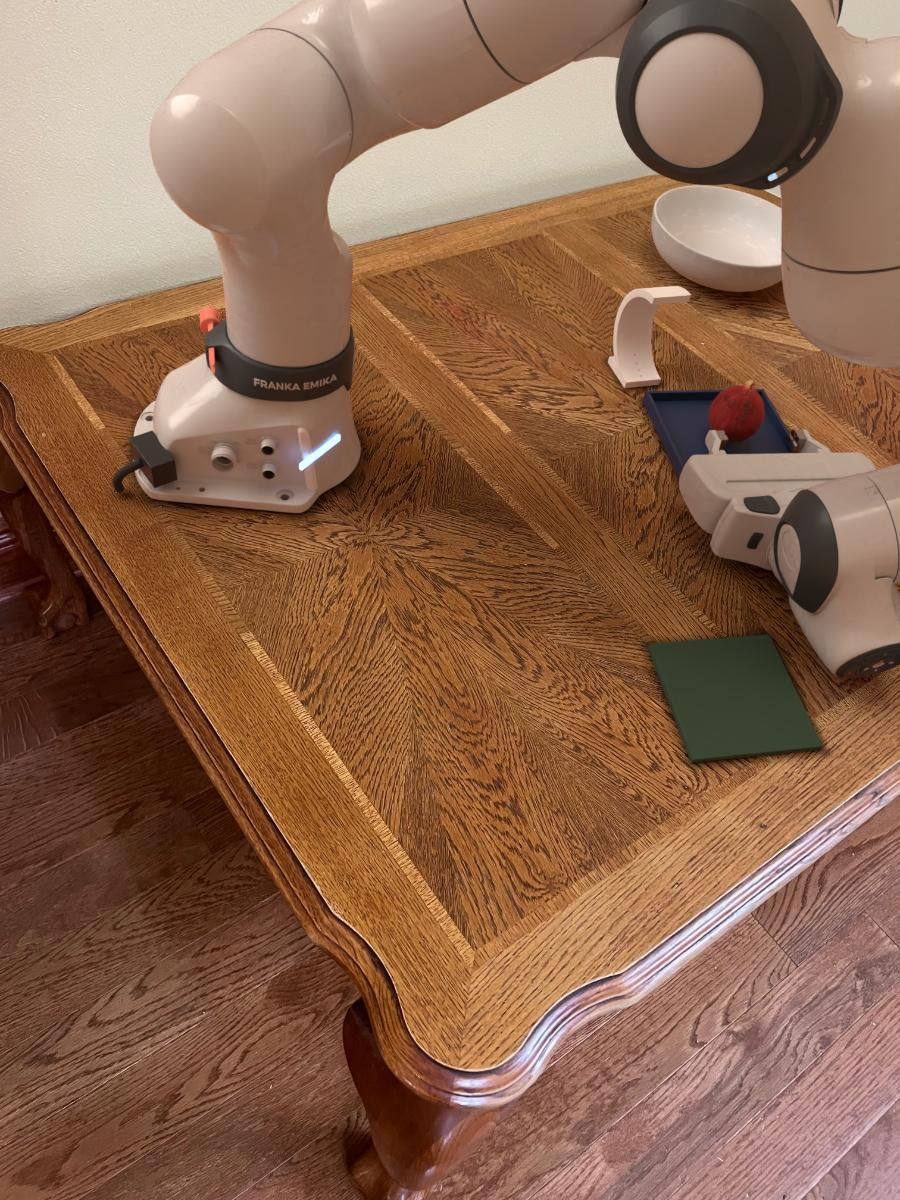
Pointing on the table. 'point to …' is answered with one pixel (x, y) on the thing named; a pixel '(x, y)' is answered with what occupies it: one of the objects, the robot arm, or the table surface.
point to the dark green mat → (732, 698)
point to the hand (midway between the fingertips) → (755, 434)
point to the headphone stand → (639, 334)
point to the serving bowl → (719, 237)
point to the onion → (737, 412)
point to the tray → (707, 426)
